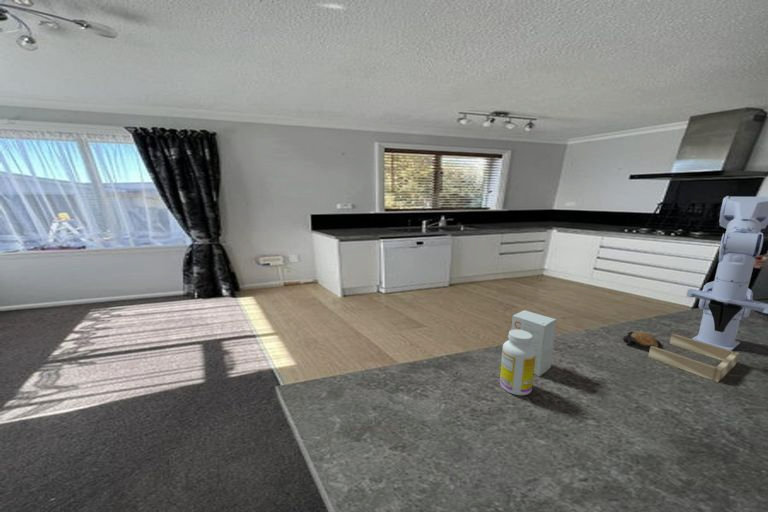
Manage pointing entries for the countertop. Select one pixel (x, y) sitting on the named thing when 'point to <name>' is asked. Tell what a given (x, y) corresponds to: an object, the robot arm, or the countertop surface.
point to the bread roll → (641, 341)
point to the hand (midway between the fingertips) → (719, 330)
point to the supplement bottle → (518, 363)
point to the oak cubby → (693, 365)
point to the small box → (538, 337)
